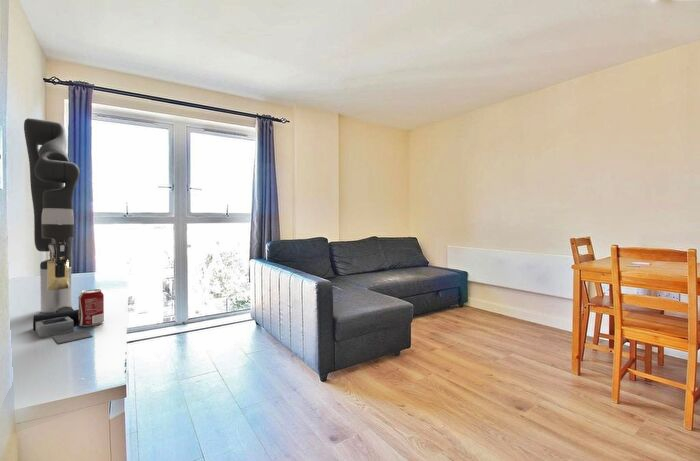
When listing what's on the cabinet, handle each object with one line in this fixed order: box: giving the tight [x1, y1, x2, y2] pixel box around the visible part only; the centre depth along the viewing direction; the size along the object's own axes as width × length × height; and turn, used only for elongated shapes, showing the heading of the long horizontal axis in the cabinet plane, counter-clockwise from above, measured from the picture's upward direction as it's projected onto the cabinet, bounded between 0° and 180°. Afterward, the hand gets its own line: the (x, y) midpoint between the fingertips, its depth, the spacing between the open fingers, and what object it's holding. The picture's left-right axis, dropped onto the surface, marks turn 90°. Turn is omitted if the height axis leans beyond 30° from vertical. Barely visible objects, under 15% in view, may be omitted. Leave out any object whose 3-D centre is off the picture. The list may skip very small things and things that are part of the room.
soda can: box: [78, 288, 105, 328], centre depth 110 cm, size 7×7×12 cm
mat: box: [52, 329, 93, 345], centre depth 98 cm, size 8×8×1 cm
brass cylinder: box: [47, 260, 69, 290], centre depth 100 cm, size 5×5×9 cm
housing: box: [35, 316, 75, 339], centre depth 102 cm, size 8×8×4 cm
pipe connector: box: [32, 306, 79, 331], centre depth 112 cm, size 12×5×15 cm
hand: (58, 276), depth 100 cm, fingers closed on brass cylinder, 5 cm apart
